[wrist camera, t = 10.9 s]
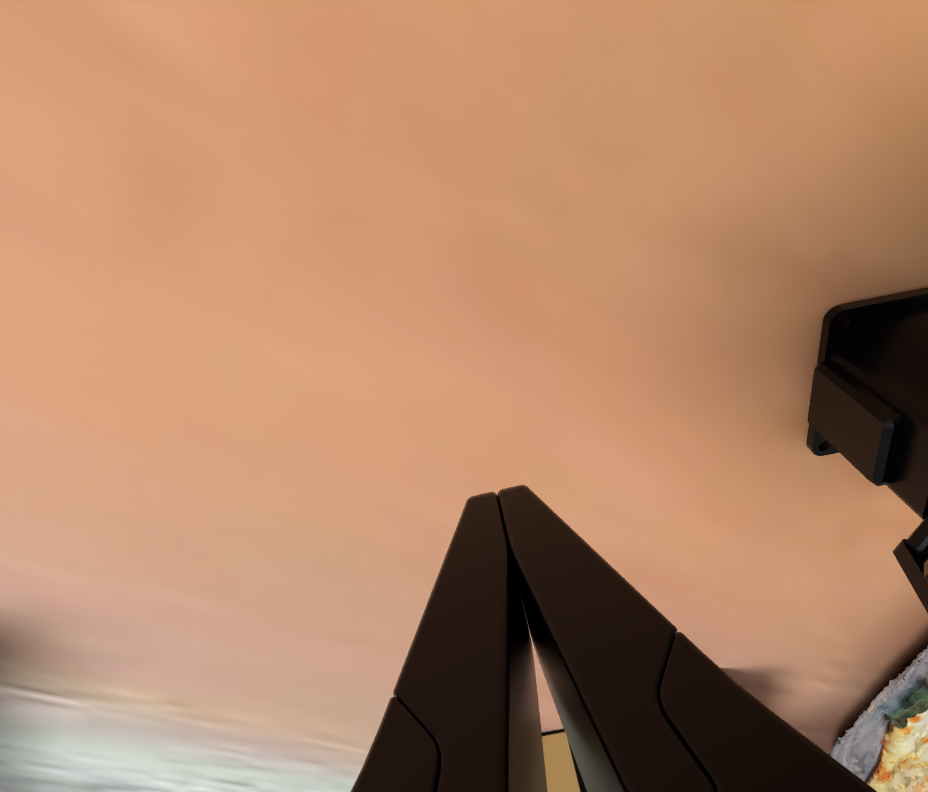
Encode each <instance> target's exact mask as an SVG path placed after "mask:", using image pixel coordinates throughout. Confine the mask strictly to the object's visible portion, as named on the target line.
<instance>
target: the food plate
mask: <svg viewBox="0 0 928 792" xmlns="http://www.w3.org/2000/svg"><path fill="white" fill-rule="evenodd" d="M898 674H899V673H898ZM883 689H884V690H883V691H881V692H880V694H879V695H877V697H876V699H875V700H873V701H872V702H871V705H870V707H869V708H868V709H867V711H864V713H862V715H861V716H859V718H858V719H857V721H856V722H855V723H854V725H853V727H851V728H850V729H849V730H847V731H846V734H845V736H844V737H842V738H838V739H839V741H841V742H839V741H836V744H835V745H834V746H835V747H833V749H832V750H833V751H831V752H832V753H830V756H831V757H833V758H834V759H835V760H837V761H838V762H839V763H840V764H842V765H843V766H844V767H846V768H847V769H848V770H850V771H851V772H852V773H854V774H855V775H856V776H858V777H859V778H860V779H862V780H863V781H864V782H866V783H867V784H868V785H869V786H871V787H872V788H873V789H875V790H876V791H877V792H928V647H927V649H926V650H923V652H922V653H920V654H918V655H917V658H916V659H914V660H913V662H912V664H911V665H910V666H908V667H906V668H905V671H903V673H902V674H899V676H897V678H896V679H894V680H890V682H889V685H888V686H887V687H885V688H883Z"/></svg>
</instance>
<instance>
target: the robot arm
mask: <svg viewBox="0 0 928 792" xmlns="http://www.w3.org/2000/svg"><path fill="white" fill-rule="evenodd" d="M843 316H844V317H843ZM841 317H843V320H842V321H841V322H840V323H838V324H836V323H837V321H838V320H839V319H840V318H841ZM808 422H809V428H808V435H807V447H808V448H809V449H810V450H811V451H812V452H813V453H814V454H815V455H817V456H824V455H829V454H834V453H839V452H840V453H841V454H842V455H843V456H844V457H845V458H846V459H847V460H848V461H849V462H850V463H851V464H852V465H853V466H854V467H855V468H856V469H857V470H859V471H860V472H861V473H862V474H863V475H864V476H865V477H866V478H867V479H868V480H869V481H870V482H872V483H873V484H875V485H876V486H881V485H887V486H888V487H889V488H890V489H891V490H892V491H893V492H894V493H895V494H896V495H897V496H898V497H899V498H901V499H902V500H903V501H904V502H905V503H906V504H907V505H908V506H909V507H910V508H911V509H912V510H913V511H914V512H915V513H917V514H918V515H919V516H920V517H921V518H922V519H923V521H922V522H921V523H920V525H919V526H918V527H917V528H916V529H915V531H914V532H913V533H912V534H911V535H910V536H909V538H908V539H903V540H902V541H901V542H900V543H899V545H898V546H897V547H896V548H895V549H894V551H893V554H894V555H895V557H896V559H897V560H898V562H899V564H900V566H901V567H902V569H903V571H904V573H905V574H906V576H907V578H908V580H909V581H910V583H911V585H912V587H913V588H914V590H915V592H916V594H917V595H918V597H919V599H920V601H921V602H922V604H923V606H924V607H925V609H926V611H927V613H928V288H925V289H920V290H915V291H910V292H905V293H900V294H894V295H889V296H884V297H879V298H874V299H869V300H864V301H859V302H854V303H848V304H843V305H838V306H836V307H833V308H832V309H830V310H829V311H828V312H827V313H826V315H825V316H824V319H823V324H822V332H821V339H820V347H819V354H818V361H817V366H816V368H815V370H814V377H813V384H812V391H811V399H810V406H809V414H808ZM823 441H824V442H823ZM821 442H823V443H822V444H820V443H821ZM819 444H820V445H819ZM498 499H499V500H498ZM522 601H523V602H522ZM523 605H524V606H523ZM524 609H525V610H524ZM525 614H526V615H525ZM526 618H527V619H526ZM527 622H528V623H527ZM528 626H529V628H528ZM529 630H530V633H531V637H532V641H533V644H534V647H535V650H536V653H537V656H538V659H539V662H540V665H541V667H542V670H543V673H544V676H545V678H546V681H547V684H548V686H549V689H550V692H551V695H552V697H553V700H554V703H555V706H556V708H557V711H558V714H559V716H560V719H561V722H562V725H563V727H564V730H565V733H566V735H567V738H568V741H569V744H570V746H571V749H572V752H573V754H574V757H575V760H576V763H577V765H578V768H579V771H580V774H581V776H582V779H583V782H584V784H585V787H586V790H587V792H877V791H876V790H875V789H873V788H872V787H871V786H869V785H868V784H867V783H866V782H864V781H863V780H862V779H860V778H859V777H858V776H856V775H855V774H854V773H852V772H851V771H850V770H848V769H847V768H846V767H844V766H843V765H842V764H840V763H839V762H838V761H837V760H835V759H834V758H833V757H831V756H830V755H829V754H827V753H826V752H825V751H823V750H822V749H821V748H819V747H818V746H817V745H815V744H814V743H813V742H811V741H810V740H809V739H808V738H806V737H805V736H804V735H802V734H801V733H800V732H798V731H797V730H796V729H794V728H793V727H792V726H790V725H789V724H788V723H786V722H785V721H784V720H783V719H781V718H780V717H779V716H777V715H776V714H775V713H774V712H772V711H771V710H770V709H769V708H767V707H766V706H765V705H764V704H762V703H761V702H760V701H759V700H757V699H756V698H755V697H754V696H752V695H751V694H750V693H749V692H747V691H746V690H745V689H744V688H742V687H741V686H740V685H739V684H737V683H736V682H735V681H734V680H733V679H732V678H731V677H730V676H728V675H727V674H726V673H725V672H724V671H723V670H722V669H721V668H719V667H718V666H717V665H716V664H715V663H714V662H713V661H712V660H710V659H709V658H708V657H707V656H706V655H705V654H704V653H703V652H702V651H701V650H699V649H698V648H697V647H696V646H695V645H694V644H693V643H692V642H691V641H690V640H689V639H688V638H687V637H686V636H685V635H684V634H683V633H681V632H678V633H677V628H676V627H675V626H674V625H673V624H672V623H671V622H670V621H668V620H667V619H666V618H665V617H664V616H663V615H662V614H661V613H660V612H659V611H658V610H657V609H656V608H655V607H654V606H653V605H652V604H651V603H649V602H648V601H647V600H646V599H645V598H644V597H643V596H642V595H641V594H640V593H639V592H638V591H637V590H636V589H635V588H634V587H633V586H632V585H630V584H629V583H628V582H627V581H626V580H625V579H624V578H623V577H622V576H621V575H620V574H619V573H618V572H617V571H616V570H615V569H614V568H613V567H611V566H610V565H609V564H608V563H607V562H606V561H605V560H604V559H603V558H602V557H601V556H600V555H599V554H598V553H597V552H596V551H595V550H594V549H592V548H591V547H590V546H589V545H588V544H587V543H586V542H585V541H584V540H583V539H582V538H581V537H580V536H579V535H578V534H577V533H576V532H575V531H573V530H572V529H571V528H570V527H569V526H568V525H567V524H566V523H565V522H564V521H563V520H562V519H561V518H560V517H559V516H558V515H557V514H556V513H554V512H553V511H552V510H551V509H550V508H549V507H548V506H547V505H546V504H545V503H544V502H543V501H542V500H541V499H540V498H539V497H538V496H537V495H535V494H534V493H533V492H532V491H531V490H530V489H529V488H528V487H527V486H525V485H519V486H514V487H510V488H506V489H502V490H500V491H499V492H498V496H497V494H496V493H495V492H489V493H484V494H480V495H476V496H472V497H470V498H469V499H468V500H467V502H466V504H465V507H464V510H463V512H462V515H461V517H460V520H459V523H458V525H457V528H456V530H455V533H454V536H453V538H452V541H451V543H450V546H449V549H448V551H447V554H446V556H445V559H444V562H443V564H442V567H441V569H440V572H439V575H438V577H437V580H436V582H435V585H434V588H433V590H432V593H431V595H430V598H429V600H428V603H427V606H426V608H425V611H424V613H423V616H422V619H421V621H420V624H419V626H418V629H417V632H416V634H415V637H414V639H413V642H412V645H411V647H410V650H409V652H408V655H407V658H406V660H405V663H404V665H403V668H402V671H401V673H400V676H399V678H398V681H397V683H396V686H395V689H394V691H393V695H394V697H392V698H391V699H390V701H389V703H388V706H387V709H386V711H385V714H384V717H383V719H382V722H381V724H380V727H379V729H378V732H377V734H376V736H375V739H374V741H373V744H372V746H371V748H370V751H369V753H368V755H367V758H366V760H365V763H364V765H363V767H362V770H361V772H360V774H359V776H358V778H357V780H356V782H355V784H354V786H353V788H352V790H351V792H548V790H547V781H546V771H545V762H544V752H543V743H542V733H541V723H540V714H539V704H538V695H537V685H536V676H535V666H534V657H533V650H532V643H531V638H530V633H529Z"/></svg>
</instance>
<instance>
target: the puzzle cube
mask: <svg viewBox="0 0 928 792" xmlns="http://www.w3.org/2000/svg"><path fill="white" fill-rule="evenodd" d="M542 743H543V752H544V762H545V771H546V781H547V790H548V792H587V790H586V787H585V784H584V782H583V779H582V776H581V774H580V771H579V768H578V765H577V763H576V760H575V757H574V754H573V752H572V749H571V746H570V744H569V741H568V738H567V735H566V733H565V730H562V731H556V732H551V733H546V734H542Z"/></svg>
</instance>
